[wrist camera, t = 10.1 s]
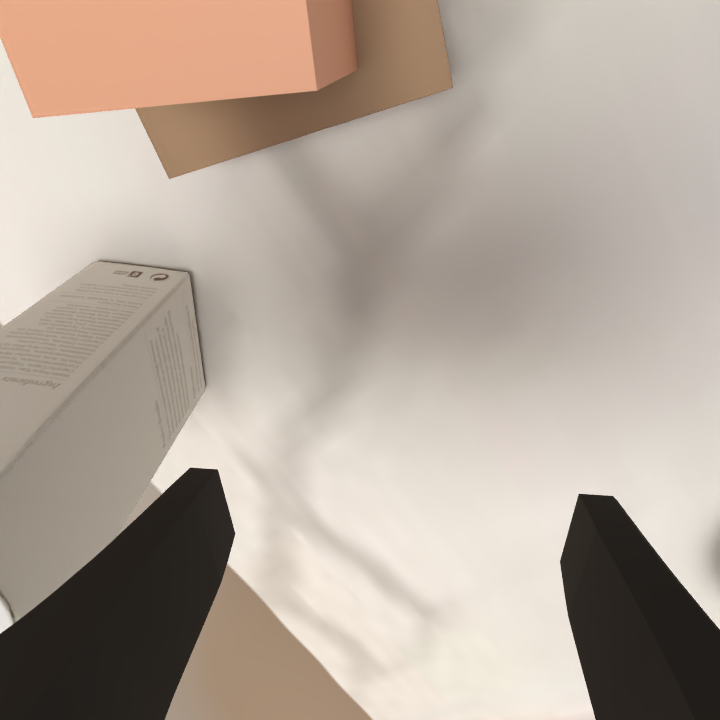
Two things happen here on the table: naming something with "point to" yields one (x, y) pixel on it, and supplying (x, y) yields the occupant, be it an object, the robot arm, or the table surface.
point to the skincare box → (87, 417)
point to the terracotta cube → (172, 50)
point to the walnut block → (312, 92)
